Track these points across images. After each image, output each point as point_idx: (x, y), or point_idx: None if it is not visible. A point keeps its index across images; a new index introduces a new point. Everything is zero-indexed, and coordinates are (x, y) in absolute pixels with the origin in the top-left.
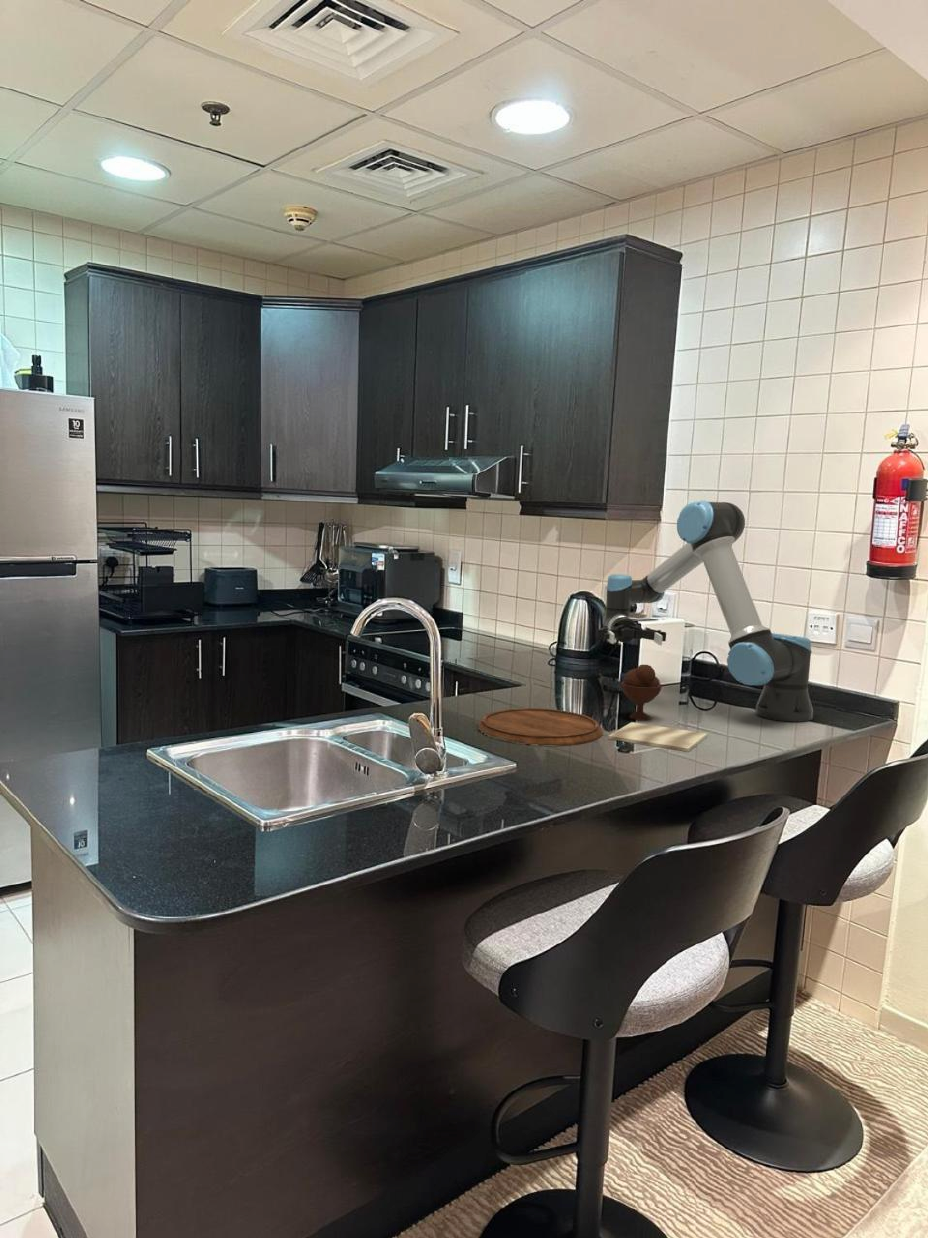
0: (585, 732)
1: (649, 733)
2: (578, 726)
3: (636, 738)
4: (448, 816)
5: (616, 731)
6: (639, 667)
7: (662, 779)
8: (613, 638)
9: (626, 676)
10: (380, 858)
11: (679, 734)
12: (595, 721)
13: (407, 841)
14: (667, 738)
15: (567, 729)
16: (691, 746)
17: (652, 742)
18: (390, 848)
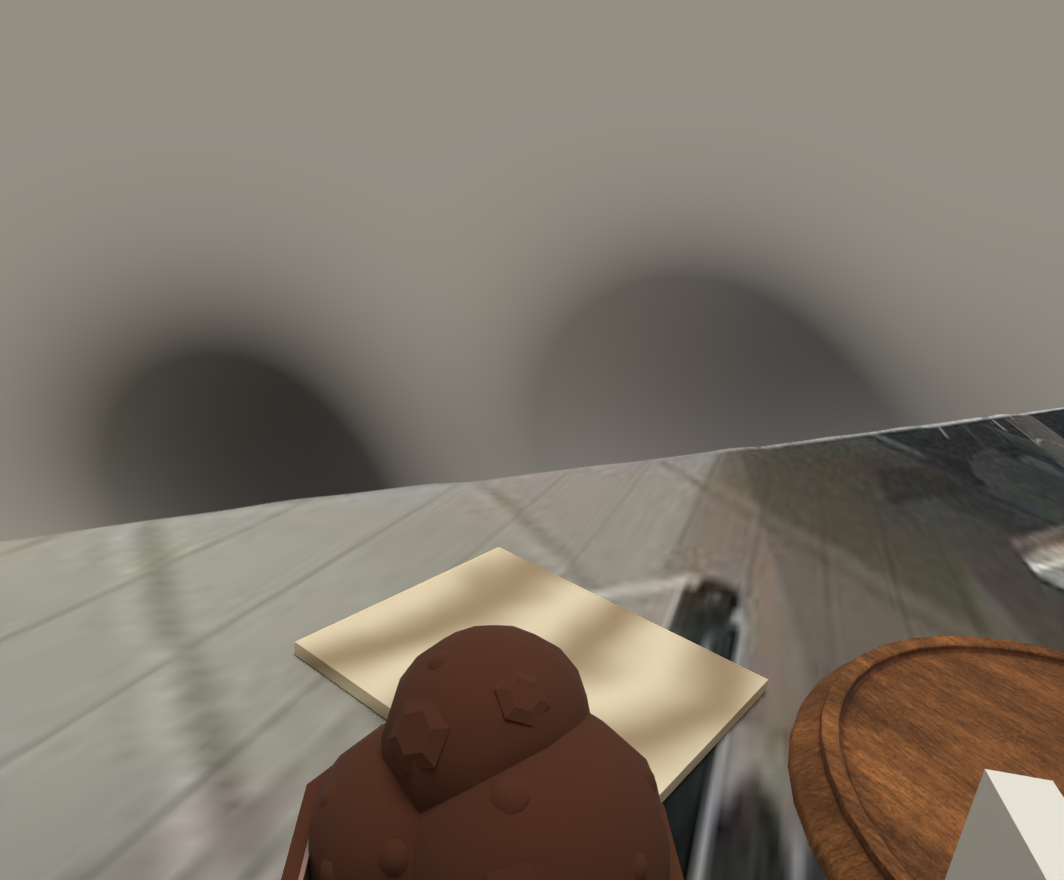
0: (873, 654)
1: None
2: (923, 750)
3: (652, 638)
4: (1036, 453)
5: (725, 719)
6: (561, 658)
7: (656, 470)
8: (973, 857)
9: (656, 793)
10: (1053, 416)
11: None
12: (842, 784)
13: (1048, 429)
14: (521, 620)
15: (966, 719)
16: (474, 558)
17: (602, 599)
18: (1058, 424)
